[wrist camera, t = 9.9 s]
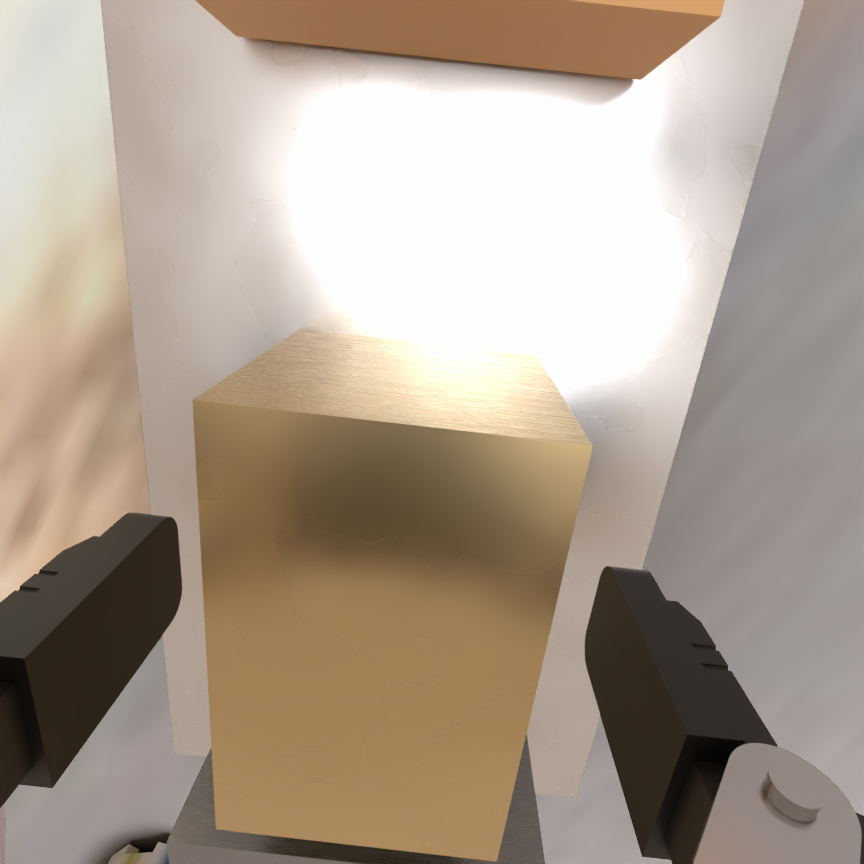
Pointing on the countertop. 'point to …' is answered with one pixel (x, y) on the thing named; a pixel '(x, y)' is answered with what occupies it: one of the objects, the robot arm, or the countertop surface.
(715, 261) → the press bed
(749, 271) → the countertop surface
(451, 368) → the block
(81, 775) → the countertop surface
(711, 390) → the countertop surface
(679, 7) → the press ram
